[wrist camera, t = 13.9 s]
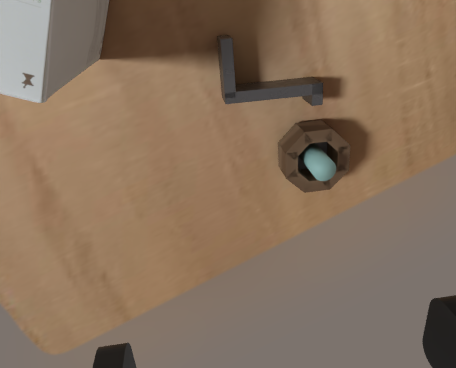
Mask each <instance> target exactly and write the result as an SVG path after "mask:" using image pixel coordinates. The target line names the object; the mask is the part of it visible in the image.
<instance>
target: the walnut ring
mask: <svg viewBox="0 0 456 368" xmlns="http://www.w3.org/2000/svg"><path fill="white" fill-rule="evenodd" d="M319 142H327V156H328V157H329V158H330V159H331V160H332V161H333V162H334V163H335V165H336V172H335V174H334V176H333V177H332V178H331V179H329V180H327V181H319V180H317V179H316V178H315V177H314V176H313V174H312V173H311V172H310V170H309V169H300V168H298V156H299V155H300V154H301V153H302V151H303V150H304V149H305V148H306V147H307V146H308V145H309V144H311V143H319ZM278 157H279V167H280V169H281V171H282V172H283V174H284V176H285V177H286V179H288V180H289V181H290V182H291V183H293V184H294V185H295V186H297V187H298V188H299V189H300V190H302V191H303V192H305V193H306V192H313V191H321V190H329V189H331V188H332V187H333V186H334V185H335V184H336V183H337V182H338V181H339V180H340V179H341V178H342V177H343V176H344V175H345V174H346V173H347V172H348V171H349V160H350V144H348V143H347V142H346V141H345V140H344V139H343V138H342V137H341V136H340V135H338V134H337V133H336V132H335V131H334V130H333V129H332V128H330V127H329V126H328V125H327V124H326V123H325V122H323V121H322V120H317V121H308V122H300V123H295V125H294V126H293V127H292V128H291V129H290V130H289V131H288V132H287V133H286V135H285V136H284V137H283V138H282V139H281V140H280V141H279V142H278Z"/></svg>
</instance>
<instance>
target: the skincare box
mask: <svg viewBox="0 0 456 368" xmlns="http://www.w3.org/2000/svg"><path fill="white" fill-rule="evenodd" d="M108 5H109V0H0V94H4V95H8V96H12V97H16V98H20V99H24V100H28V101H33V102H38V103H43V102H46V101H47V99H48V98H49V97H50V96H51V95H52V94H54V93H55V92H56V91H57V90H59V89H60V88H61V87H63V86H64V85H66V84H67V83H68V82H70V81H71V80H72V79H73V78H75V77H76V76H77V75H79V74H80V73H81V72H83V71H84V70H85V69H87V68H88V67H89V66H91V65H92V64H94V63H95V62H96V61H98V60H99V59H100V54H101V49H102V43H103V37H104V31H105V25H106V18H107V12H108Z"/></svg>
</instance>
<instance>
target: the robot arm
mask: <svg viewBox="0 0 456 368" xmlns="http://www.w3.org/2000/svg"><path fill="white" fill-rule="evenodd" d="M423 348H424V352H425V355H426V357H427V359H428V361H429V363H430V365H431V366H432V367H433V368H456V295H455V296H448V297H441V298H434V299H433V300H431V302H430V305H429V310H428V315H427V320H426V325H425V330H424V335H423ZM93 368H136V364H135V361H134V357H133V353H132V349H131V346H130V344H129V343H124V344H117V345H110V346H104V347H99V348H98V350H97V352H96V355H95V360H94V364H93Z"/></svg>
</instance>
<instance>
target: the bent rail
mask: <svg viewBox="0 0 456 368" xmlns="http://www.w3.org/2000/svg"><path fill="white" fill-rule="evenodd" d="M217 42H218V54H219V66H220V78H221V90H222V98H223V100H224V102H225V104H232V103H241V102H251V101H260V100H270V99H279V98H289V97H298V96H303V99H304V100H305V101H307V102H308V103H309V104H310V105H312V106H315V105H322V103H323V83H322V82H321V81H319V80H317V79H316V78H314V77H306V78H297V79H287V80H277V81H267V82H257V83H247V84H237V85H235V72H234V57H233V42H232V38H231V37H230V36H228V35H224V36H217Z"/></svg>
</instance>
